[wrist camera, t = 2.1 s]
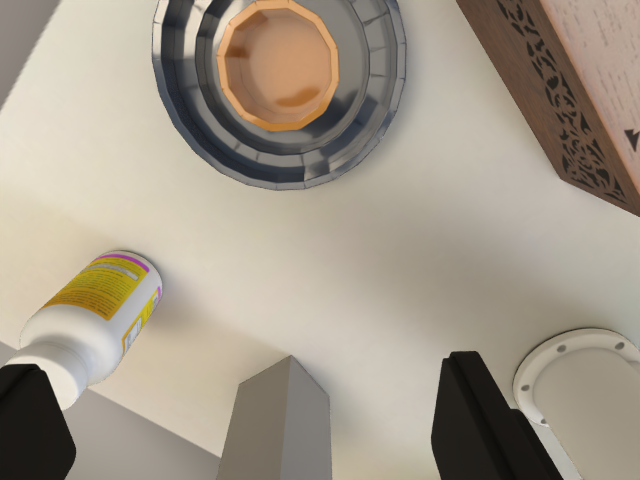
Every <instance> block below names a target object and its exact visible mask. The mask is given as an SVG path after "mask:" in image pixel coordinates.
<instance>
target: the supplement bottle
mask: <svg viewBox="0 0 640 480" xmlns="http://www.w3.org/2000/svg"><path fill="white" fill-rule="evenodd" d="M161 295H162V282H161V278H160V276H159V274H158V272H157V270H156V269H155V268H154V267H153V266H152V264H151V263H149V262H148V261H147V260H146V259H144V258H142V257H141V256H139V255H136V254H134V253H130V252H125V251H113V252H108V253H105V254H103V255H101V256H99V257H98V258H96V259H95V260H94V261H92V262H91V263H90V264H89V265H88V266H87V267H86V268H85V269H84V270H82V271H81V272H80V273H79V274H78V275H77V276H76V277H75V278H74V279H73V280H71V281H70V282H69V283H68V284H67V285H66V286H65V287H64V288H63V289H62V290H60V291H59V292H58V293H57V294H56V295H55V296H54V297H53V298H52V299H51V300H49V301H48V302H47V303H46V304H45V305H44V306H43V307H42V308H41V309H39V310H38V311H37V312H36V313H35V314H34V315H33V316H32V317H31V318H30V319H29V320H28V321H27V323H26V324H25V326H24V327H23V330H22V332H21V336H20V350H18V351H17V352H16V353H15V354H14V355H13V356H12V357H11V358H10V359H9V360H8V361H7V362H6V364H5V365H8V364H31V363H32V364H37V365H38V366H39V367H40V369H41V370H44V371H45V372H46V373H47V375H48V378H49V381H50V383H51V386H52V388H53V391H54V393H55V396H56V398H57V401H58V403H59V406H60V409H61V411H62V410H65V409H67V408H69V407H70V406H71V405H73V404H74V402H75V401H76V400H77V399H78V397H79V396H80V395H81V393H82V392H83V391H84V390H85V388H86V387H87V386H91V385H94V384H97V383H99V382H101V381H103V380H105V379H106V378H107V377H108V376H110V375H111V374H112V373H113V371H114V370H115V369H116V367H117V366H118V364H119V363H120V361H121V360H122V358H123V357H124V355H125V354H126V352H127V350H128V349H129V347H130V346H131V344H132V343H133V341H134V340H135V338H136V337H137V335H138V334H139V332H140V331H141V329H142V327H143V326H144V324H145V323H146V321H147V320H148V318H149V317H150V315H151V314H152V312H153V311H154V309H155V308H156V306H157V304H158V302H159V301H160V298H161ZM5 365H4V366H5Z"/></svg>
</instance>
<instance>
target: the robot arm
mask: <svg viewBox="0 0 640 480" xmlns="http://www.w3.org/2000/svg"><path fill="white" fill-rule="evenodd" d="M513 394H514V397H515V401H516V402H517V404H518V406H519V408H520V410H521V411H522V412H523V413H524V414H523V413H522V412H521V411H520V410H518V409H510V407H509V405H508V404H507V402H506V400H505V398H504V397H503V395H502V393H501V391H500V389H499V388H498V386H497V384H496V382H495V381H494V379H493V377H492V375H491V374H490V372H489V370H488V368H487V367H486V365H485V363H484V361H483V360H482V358H481V356H480V355H479V353H478V352H476V351H459V352H451V354H450V357H449V358H444V359H443V361H442V367H441V373H440V380H439V387H438V394H437V400H436V407H435V414H434V420H433V427H432V434H431V444H432V450H433V454H434V457H435V461H436V464H437V467H438V470H439V473H440V477H441V480H564V479H563V478H562V476H561V474H560V473H559V471H558V469H557V468H556V466H555V464H554V463H553V461H552V459H551V458H550V456H549V454H548V453H547V451H546V449H545V448H544V446H543V444H542V443H541V441H540V439H539V438H538V436H537V434H536V433H535V431H534V429H533V428H532V426H531V424H530V423H529V421H528V419H530V420H531V421H532V422H534V423H536V424H538V425H540V426H544V427H547V428H551V430H552V431H553V433H554V434H555V436H556V438H557V439H558V441H559V442H560V444H561V445H562V447H563V449H564V450H565V452H566V453H567V455H568V456H569V458H570V460H571V461H572V463H573V464H574V466H575V467H576V469H577V471H578V472H579V474H580V475H581V477H582V478H583V480H640V351H639V350H638V349H637V348H636V346H635V345H633V344H632V343H631V342H630V341H629V340H628V339H626V338H625V337H623V336H621V335H620V334H618V333H615V332H612V331H609V330H604V329H595V328H594V329H580V330H575V331H570V332H567V333H564V334H561V335H558V336H556V337H554V338H552V339H550V340H548V341H546V342H544V343H543V344H541V345H540V346H538V347H537V348H536V349H534V350H533V351H532V352H531V353H530V354H529V355H528V356H527V357H526V358H525V360H524V361H523V362H522V364H521V365H520V366H519V369H518V371H517V373H516V375H515V378H514V382H513ZM525 416H526V417H527V418H528V419H527V418H526V417H525ZM75 457H76V447H75V444H74V442H73V439H72V436H71V434H70V432H69V429H68V426H67V424H66V421H65V419H64V416H63V414H62V411H61V409H60V406H59V403H58V401H57V398H56V396H55V393H54V391H53V388H52V386H51V383H50V381H49V378H48V375H47V373H46V372H45V371H44V370H41V369H40V367H39V366H38V365H37V364H32V363H31V364H8V365H5V366H3V367H2V368H1V369H0V480H64V479H65V477H66V476H67V474H68V472H69V470H70V469H71V467H72V465H73V463H74V461H75Z"/></svg>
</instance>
